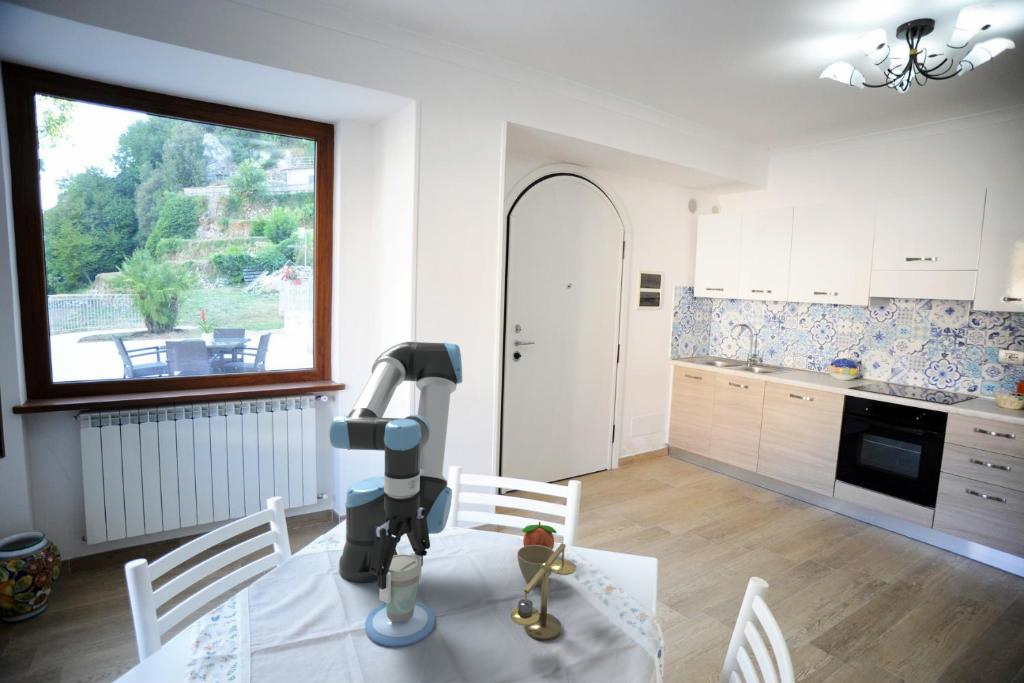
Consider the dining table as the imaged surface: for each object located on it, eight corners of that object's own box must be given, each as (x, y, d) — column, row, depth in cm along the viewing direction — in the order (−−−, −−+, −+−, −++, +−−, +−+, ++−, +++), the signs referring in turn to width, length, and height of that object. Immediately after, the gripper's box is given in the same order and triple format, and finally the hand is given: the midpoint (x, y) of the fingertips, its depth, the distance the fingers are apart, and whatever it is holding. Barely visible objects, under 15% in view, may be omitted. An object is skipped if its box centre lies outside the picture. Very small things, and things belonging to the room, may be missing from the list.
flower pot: (552, 593, 138) (553, 566, 137) (512, 587, 140) (513, 560, 139) (557, 573, 147) (558, 547, 147) (520, 567, 149) (521, 542, 149)
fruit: (523, 547, 161) (524, 514, 160) (556, 550, 159) (558, 517, 158) (519, 562, 152) (521, 527, 151) (554, 565, 151) (556, 530, 150)
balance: (500, 647, 117) (502, 570, 115) (551, 600, 135) (555, 533, 133) (532, 663, 113) (535, 584, 111) (581, 612, 130) (585, 543, 128)
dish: (350, 628, 122) (350, 622, 121) (401, 597, 134) (401, 592, 134) (399, 656, 113) (399, 651, 113) (448, 620, 125) (448, 615, 125)
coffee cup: (386, 630, 118) (387, 576, 116) (376, 608, 125) (376, 557, 124) (425, 619, 122) (426, 567, 120) (413, 599, 129) (414, 549, 128)
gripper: (376, 513, 109) (375, 621, 112) (448, 482, 127) (445, 576, 129) (350, 503, 113) (350, 607, 116) (423, 474, 131) (422, 565, 133)
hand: (400, 591), depth 123 cm, fingers closed on coffee cup, 8 cm apart
